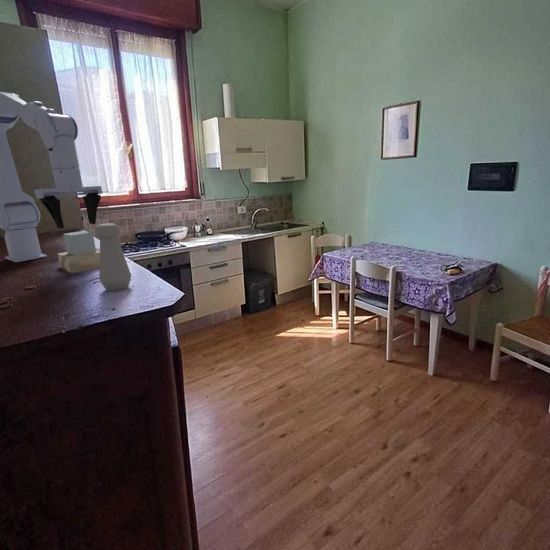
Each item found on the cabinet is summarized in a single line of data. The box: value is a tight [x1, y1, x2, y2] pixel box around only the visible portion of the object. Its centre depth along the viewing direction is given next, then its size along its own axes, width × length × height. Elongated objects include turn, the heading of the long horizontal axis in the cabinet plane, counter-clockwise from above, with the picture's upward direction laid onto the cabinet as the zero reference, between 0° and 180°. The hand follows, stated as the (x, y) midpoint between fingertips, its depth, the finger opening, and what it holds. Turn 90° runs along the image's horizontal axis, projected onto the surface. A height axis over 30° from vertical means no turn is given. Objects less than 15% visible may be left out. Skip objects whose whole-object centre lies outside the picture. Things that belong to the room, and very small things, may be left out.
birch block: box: [57, 247, 100, 274], centre depth 91 cm, size 9×9×4 cm
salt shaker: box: [94, 222, 132, 293], centre depth 70 cm, size 6×6×13 cm
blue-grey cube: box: [62, 230, 97, 256], centre depth 90 cm, size 5×5×5 cm
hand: (77, 225), depth 89 cm, fingers open, 7 cm apart
